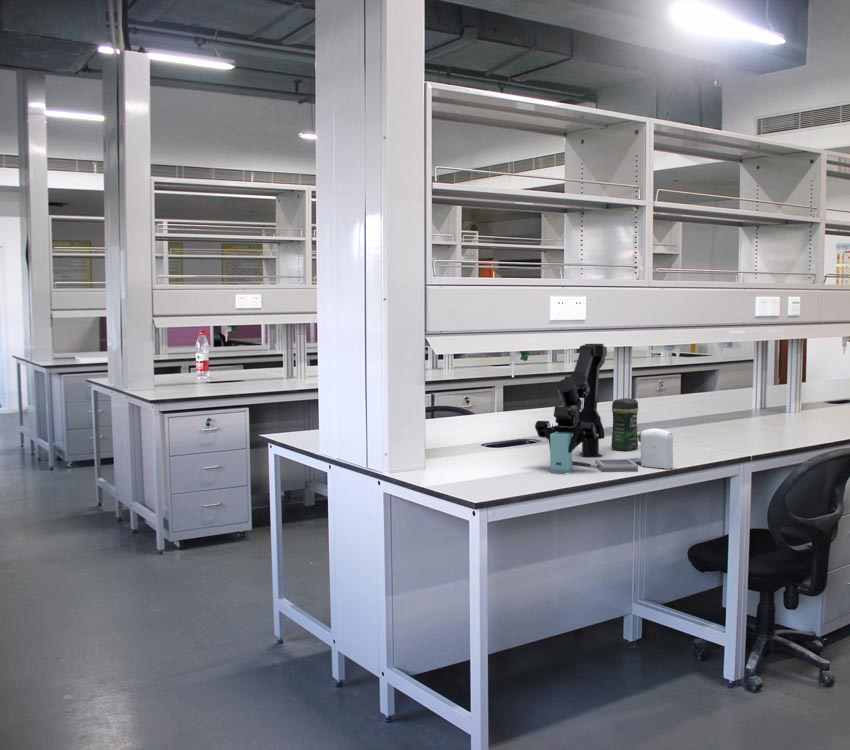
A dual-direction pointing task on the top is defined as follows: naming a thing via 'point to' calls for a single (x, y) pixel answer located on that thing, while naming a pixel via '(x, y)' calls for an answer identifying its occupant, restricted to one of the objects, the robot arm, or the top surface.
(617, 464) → the tray
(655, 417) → the top surface
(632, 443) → the coffee jar
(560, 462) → the charger
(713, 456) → the top surface
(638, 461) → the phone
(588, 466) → the pen
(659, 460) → the photo printer
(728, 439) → the top surface
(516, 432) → the top surface
